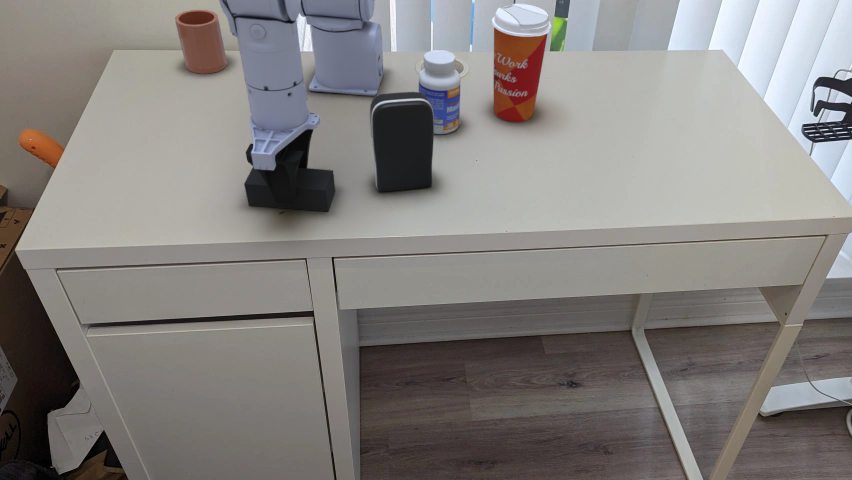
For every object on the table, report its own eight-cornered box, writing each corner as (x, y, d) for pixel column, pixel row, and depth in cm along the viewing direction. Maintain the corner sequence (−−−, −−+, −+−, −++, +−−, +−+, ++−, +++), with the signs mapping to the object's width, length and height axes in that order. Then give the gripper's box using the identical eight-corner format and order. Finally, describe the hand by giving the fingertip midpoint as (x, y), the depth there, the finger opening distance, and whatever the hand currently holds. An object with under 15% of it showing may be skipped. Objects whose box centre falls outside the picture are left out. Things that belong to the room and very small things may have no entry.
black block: (335, 191, 85) (333, 170, 83) (328, 211, 82) (325, 190, 80) (258, 185, 84) (254, 163, 82) (248, 205, 82) (243, 183, 80)
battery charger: (428, 170, 89) (428, 85, 82) (434, 187, 87) (435, 101, 79) (371, 176, 88) (366, 89, 80) (376, 194, 85) (371, 106, 77)
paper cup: (474, 108, 101) (479, 9, 92) (514, 93, 106) (523, -3, 96) (512, 132, 97) (522, 31, 88) (552, 115, 102) (565, 18, 92)
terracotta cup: (232, 58, 107) (223, 11, 103) (220, 75, 103) (210, 27, 98) (194, 54, 107) (183, 8, 102) (180, 72, 103) (168, 24, 98)
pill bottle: (453, 138, 95) (455, 69, 89) (413, 131, 96) (413, 62, 89) (463, 118, 99) (466, 51, 93) (425, 111, 100) (425, 44, 93)
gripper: (296, 116, 68) (311, 230, 77) (329, 49, 78) (339, 156, 88) (220, 110, 68) (245, 225, 77) (263, 44, 78) (280, 151, 87)
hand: (291, 188), depth 82 cm, fingers open, 4 cm apart
